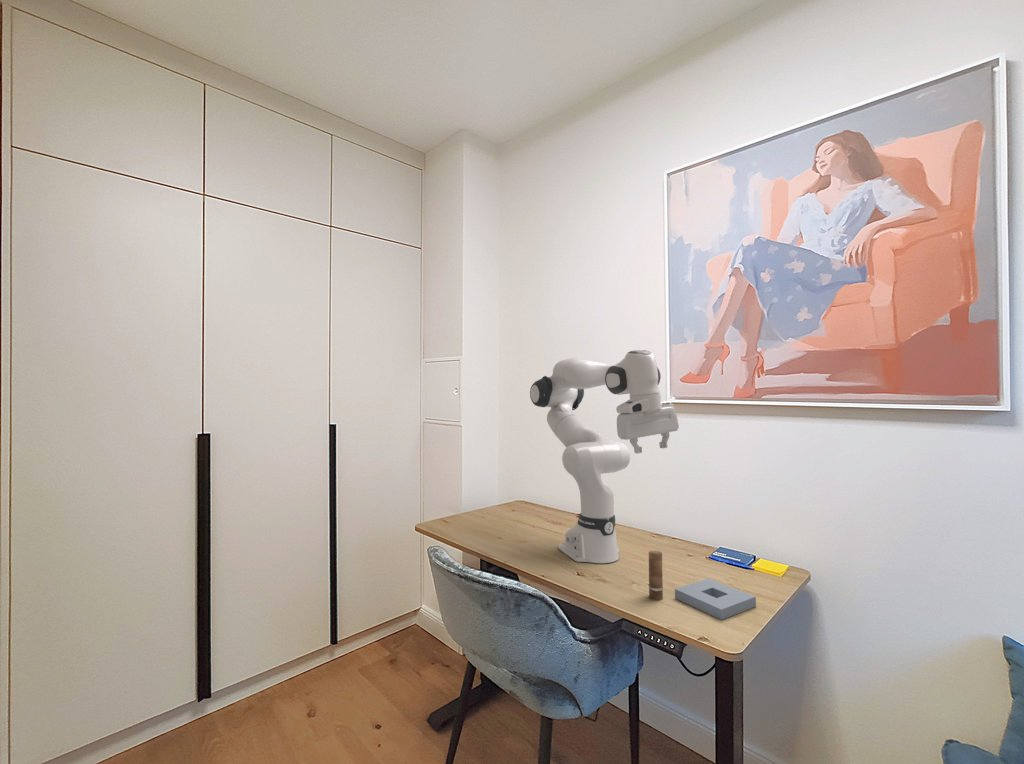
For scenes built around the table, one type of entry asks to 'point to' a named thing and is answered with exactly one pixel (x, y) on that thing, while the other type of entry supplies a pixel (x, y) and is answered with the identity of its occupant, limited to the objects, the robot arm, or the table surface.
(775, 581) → the table surface
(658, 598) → the peg
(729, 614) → the socket board
